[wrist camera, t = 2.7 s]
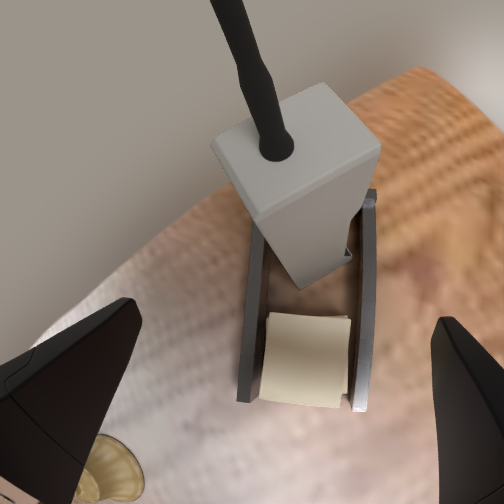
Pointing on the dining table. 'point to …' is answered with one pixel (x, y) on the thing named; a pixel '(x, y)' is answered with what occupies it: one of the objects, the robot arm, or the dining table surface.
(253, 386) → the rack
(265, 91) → the vintage mobile phone
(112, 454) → the hand bell
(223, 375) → the dining table surface
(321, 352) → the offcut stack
